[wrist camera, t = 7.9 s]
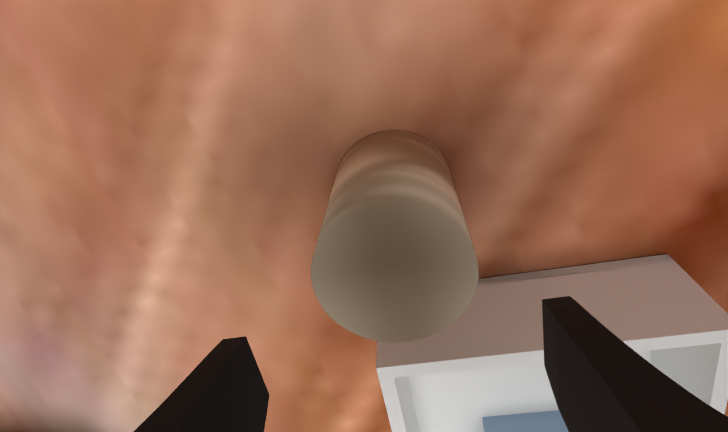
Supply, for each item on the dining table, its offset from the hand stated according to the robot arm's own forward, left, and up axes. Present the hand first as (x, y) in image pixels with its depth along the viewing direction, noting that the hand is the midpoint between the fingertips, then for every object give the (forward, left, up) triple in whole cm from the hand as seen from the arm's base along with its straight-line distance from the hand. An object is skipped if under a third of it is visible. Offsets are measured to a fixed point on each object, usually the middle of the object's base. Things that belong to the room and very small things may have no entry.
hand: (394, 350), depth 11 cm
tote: (-5, +14, -10) cm, 18 cm away
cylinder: (0, 0, -10) cm, 10 cm away
